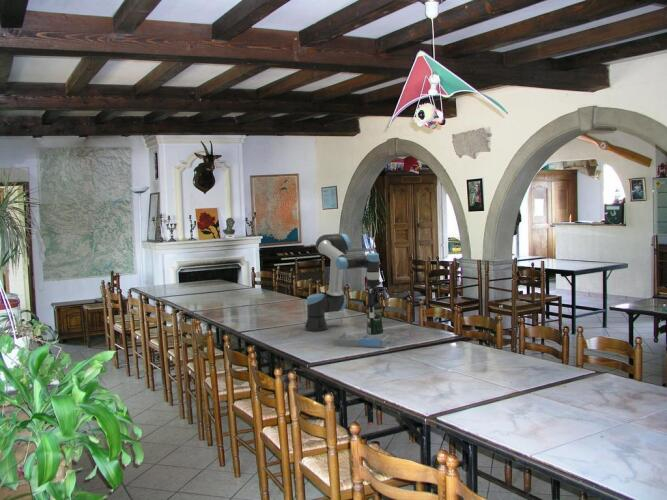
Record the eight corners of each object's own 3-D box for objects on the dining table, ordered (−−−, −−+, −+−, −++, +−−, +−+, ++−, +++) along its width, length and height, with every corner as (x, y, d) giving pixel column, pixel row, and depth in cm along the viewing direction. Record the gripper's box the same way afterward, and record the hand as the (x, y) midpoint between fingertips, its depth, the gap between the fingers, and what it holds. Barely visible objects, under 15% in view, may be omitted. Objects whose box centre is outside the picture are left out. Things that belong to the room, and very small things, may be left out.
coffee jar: (378, 331, 394) (377, 301, 393) (385, 334, 387) (384, 303, 386) (364, 333, 390) (363, 302, 389) (370, 335, 383) (369, 304, 382)
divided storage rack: (343, 339, 403) (342, 331, 402) (390, 341, 393) (390, 333, 392) (333, 345, 386) (333, 337, 386) (383, 348, 376) (383, 340, 376)
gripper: (372, 276, 398) (373, 312, 400) (361, 281, 377) (362, 319, 379) (384, 276, 396) (385, 313, 397) (374, 281, 375) (375, 319, 376)
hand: (374, 316), depth 388 cm, fingers closed on coffee jar, 10 cm apart
